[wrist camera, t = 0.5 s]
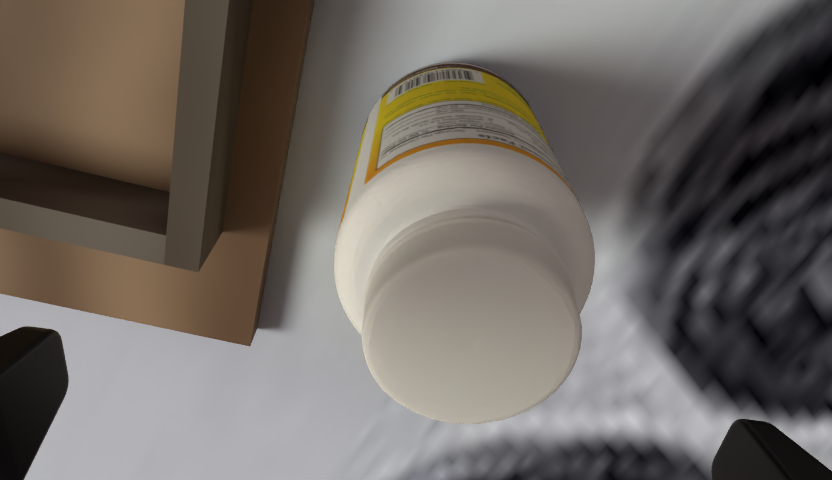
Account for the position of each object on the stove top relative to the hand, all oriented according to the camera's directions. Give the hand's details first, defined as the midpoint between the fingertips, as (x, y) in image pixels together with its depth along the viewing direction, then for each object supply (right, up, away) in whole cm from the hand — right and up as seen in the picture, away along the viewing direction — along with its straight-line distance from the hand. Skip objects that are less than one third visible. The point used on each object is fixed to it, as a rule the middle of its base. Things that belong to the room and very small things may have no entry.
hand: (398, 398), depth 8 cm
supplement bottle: (+1, +5, +12) cm, 13 cm away
